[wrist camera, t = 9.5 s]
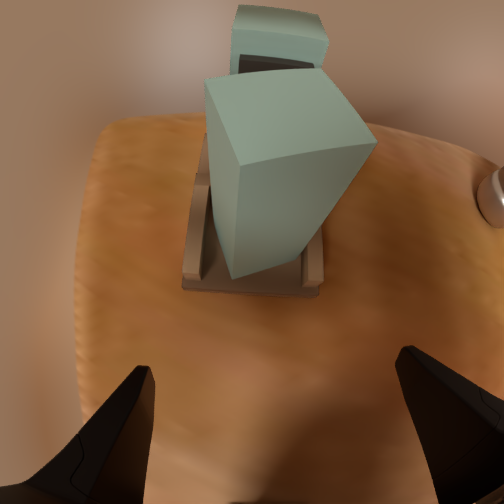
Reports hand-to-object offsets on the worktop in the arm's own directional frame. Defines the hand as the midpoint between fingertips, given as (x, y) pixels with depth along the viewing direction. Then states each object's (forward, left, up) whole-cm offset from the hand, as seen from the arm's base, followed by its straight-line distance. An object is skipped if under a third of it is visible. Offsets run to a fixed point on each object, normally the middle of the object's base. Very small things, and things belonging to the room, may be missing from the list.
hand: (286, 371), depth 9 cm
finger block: (+8, +1, -8) cm, 12 cm away
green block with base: (+11, +1, -9) cm, 14 cm away
